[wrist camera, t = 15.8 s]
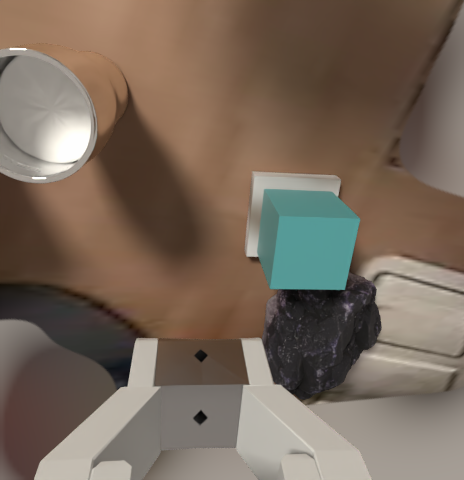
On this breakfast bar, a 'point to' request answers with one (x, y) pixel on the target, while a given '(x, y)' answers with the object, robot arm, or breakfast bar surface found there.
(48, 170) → the beer glass
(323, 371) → the dark grey rock
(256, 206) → the square base with post
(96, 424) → the robot arm
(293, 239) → the turquoise cube
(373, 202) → the breakfast bar surface
